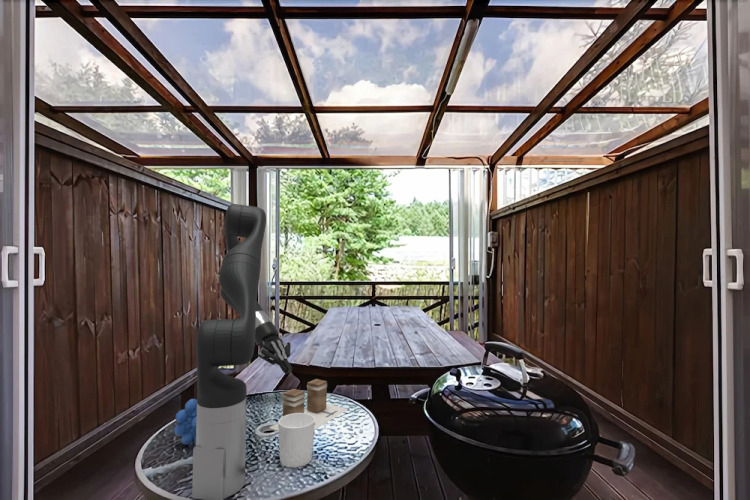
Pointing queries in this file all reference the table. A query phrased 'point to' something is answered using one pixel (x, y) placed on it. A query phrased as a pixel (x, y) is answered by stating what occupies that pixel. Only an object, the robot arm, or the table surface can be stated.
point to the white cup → (296, 439)
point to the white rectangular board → (321, 416)
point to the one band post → (316, 395)
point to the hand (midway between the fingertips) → (289, 371)
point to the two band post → (293, 402)
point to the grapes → (187, 422)
